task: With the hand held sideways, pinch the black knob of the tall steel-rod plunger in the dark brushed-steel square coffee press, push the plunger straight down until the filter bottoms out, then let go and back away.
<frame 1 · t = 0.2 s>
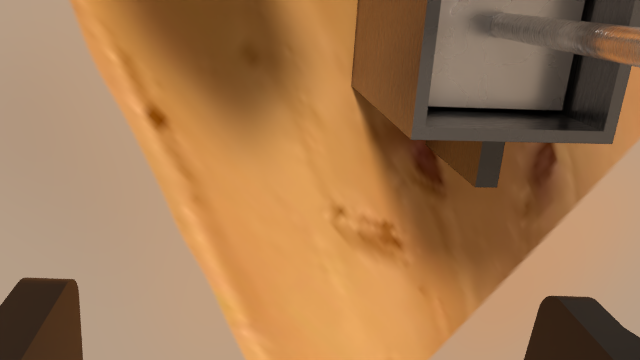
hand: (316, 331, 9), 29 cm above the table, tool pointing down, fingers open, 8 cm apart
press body: (429, 14, 37), on the table
plunger: (639, 47, 17), point 21 cm above the table, slide at 0.0 cm
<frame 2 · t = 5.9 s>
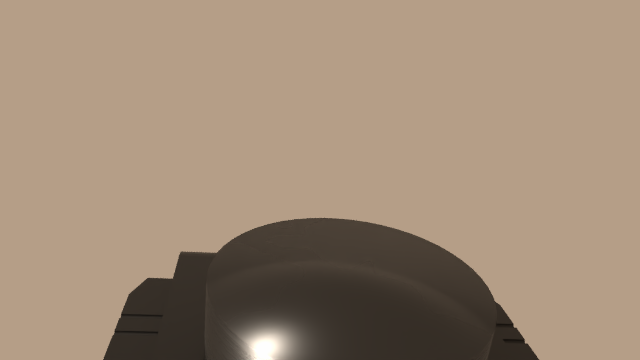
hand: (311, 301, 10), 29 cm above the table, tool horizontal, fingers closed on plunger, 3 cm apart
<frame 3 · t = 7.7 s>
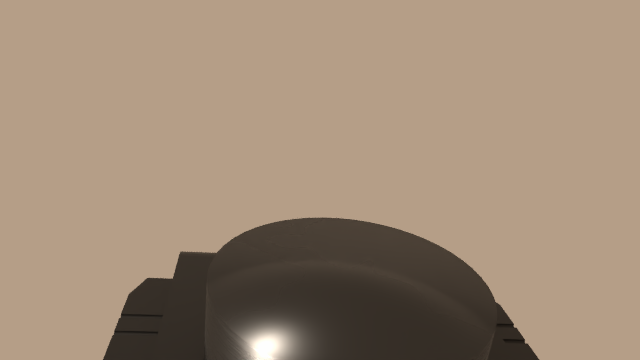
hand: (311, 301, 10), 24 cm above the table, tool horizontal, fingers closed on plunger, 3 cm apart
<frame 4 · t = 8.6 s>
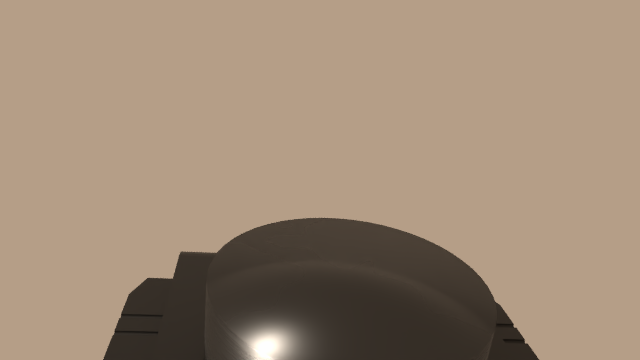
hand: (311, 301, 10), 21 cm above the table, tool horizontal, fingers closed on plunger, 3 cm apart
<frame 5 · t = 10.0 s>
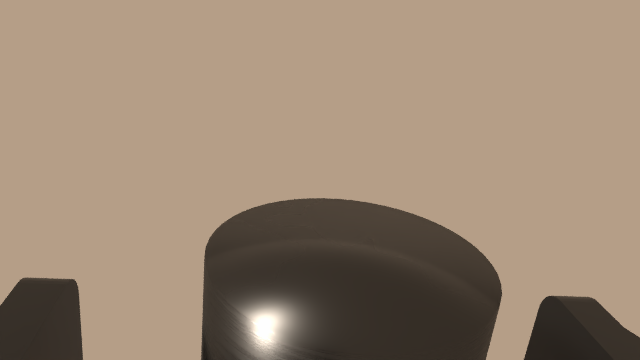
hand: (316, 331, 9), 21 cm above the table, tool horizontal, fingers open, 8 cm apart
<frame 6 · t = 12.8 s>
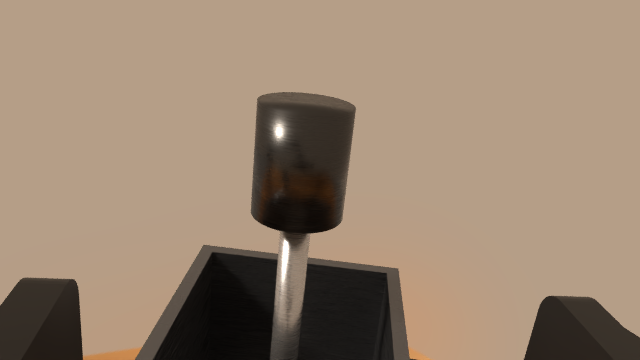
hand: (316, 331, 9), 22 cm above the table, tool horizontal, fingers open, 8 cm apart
plunger: (285, 343, 24), point 12 cm above the table, slide at 8.2 cm
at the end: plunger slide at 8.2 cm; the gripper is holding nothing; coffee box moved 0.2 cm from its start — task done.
